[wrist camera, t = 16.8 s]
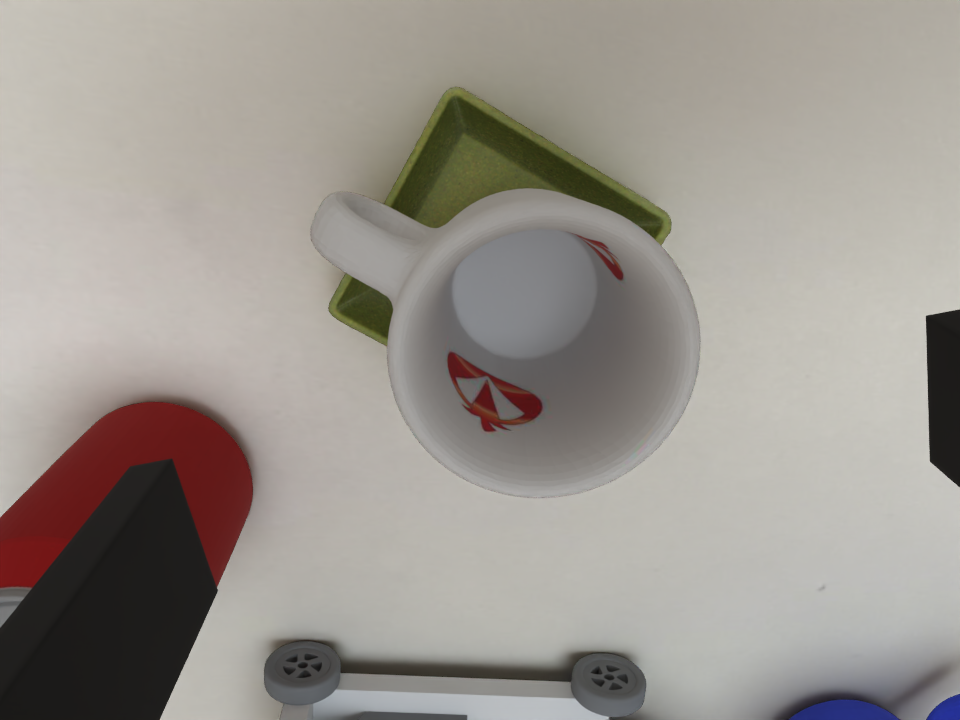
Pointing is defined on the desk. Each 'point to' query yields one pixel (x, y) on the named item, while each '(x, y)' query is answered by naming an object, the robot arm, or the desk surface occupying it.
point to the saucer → (482, 187)
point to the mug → (871, 711)
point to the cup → (525, 334)
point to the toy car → (446, 691)
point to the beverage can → (98, 467)
